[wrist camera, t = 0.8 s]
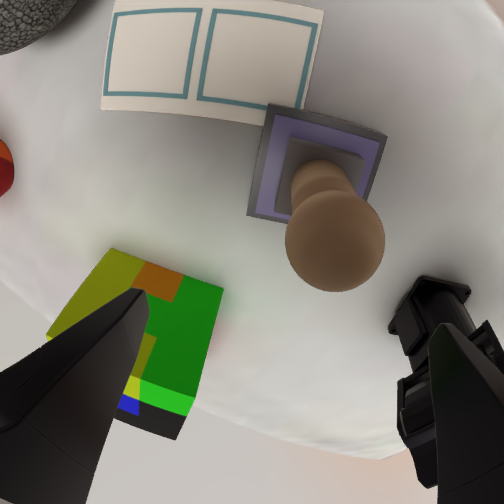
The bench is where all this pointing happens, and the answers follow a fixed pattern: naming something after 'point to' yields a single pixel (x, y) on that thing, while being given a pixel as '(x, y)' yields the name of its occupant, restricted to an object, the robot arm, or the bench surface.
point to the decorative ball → (29, 21)
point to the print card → (209, 57)
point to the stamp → (328, 217)
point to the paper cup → (5, 169)
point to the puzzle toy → (154, 337)
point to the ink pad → (313, 129)
